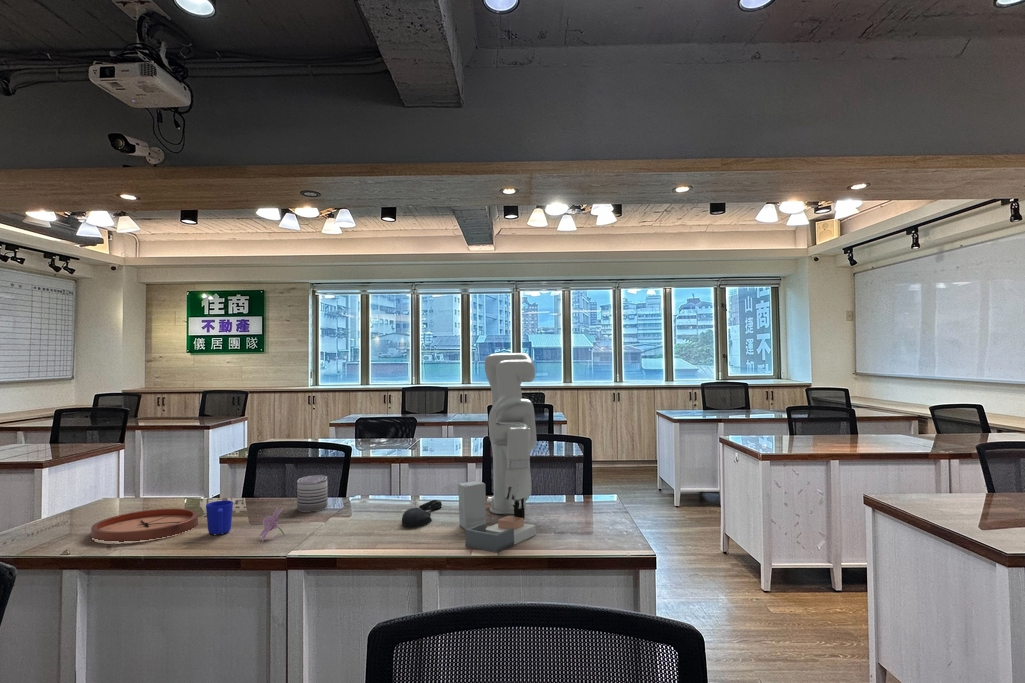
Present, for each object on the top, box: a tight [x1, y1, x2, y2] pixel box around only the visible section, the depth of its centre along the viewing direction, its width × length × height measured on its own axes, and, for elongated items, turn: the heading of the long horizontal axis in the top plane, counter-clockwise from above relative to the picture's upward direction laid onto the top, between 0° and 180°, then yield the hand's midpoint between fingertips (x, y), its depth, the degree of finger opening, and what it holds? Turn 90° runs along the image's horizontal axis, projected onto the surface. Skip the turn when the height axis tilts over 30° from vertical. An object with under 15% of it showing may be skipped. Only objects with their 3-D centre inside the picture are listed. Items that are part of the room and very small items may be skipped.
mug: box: [205, 500, 234, 535], centre depth 199 cm, size 8×12×10 cm
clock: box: [90, 507, 199, 542], centre depth 206 cm, size 31×4×31 cm
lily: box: [259, 506, 285, 542], centre depth 195 cm, size 12×12×10 cm
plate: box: [486, 522, 537, 546], centre depth 192 cm, size 12×12×3 cm
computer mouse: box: [401, 499, 443, 529], centre depth 219 cm, size 10×32×6 cm, turn 172°
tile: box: [497, 515, 525, 530], centre depth 193 cm, size 6×6×2 cm
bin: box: [464, 522, 514, 554], centre depth 183 cm, size 12×9×5 cm
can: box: [296, 474, 329, 513], centre depth 233 cm, size 11×11×12 cm
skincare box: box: [457, 480, 487, 530], centre depth 205 cm, size 8×6×15 cm
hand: (519, 519), depth 197 cm, fingers closed
